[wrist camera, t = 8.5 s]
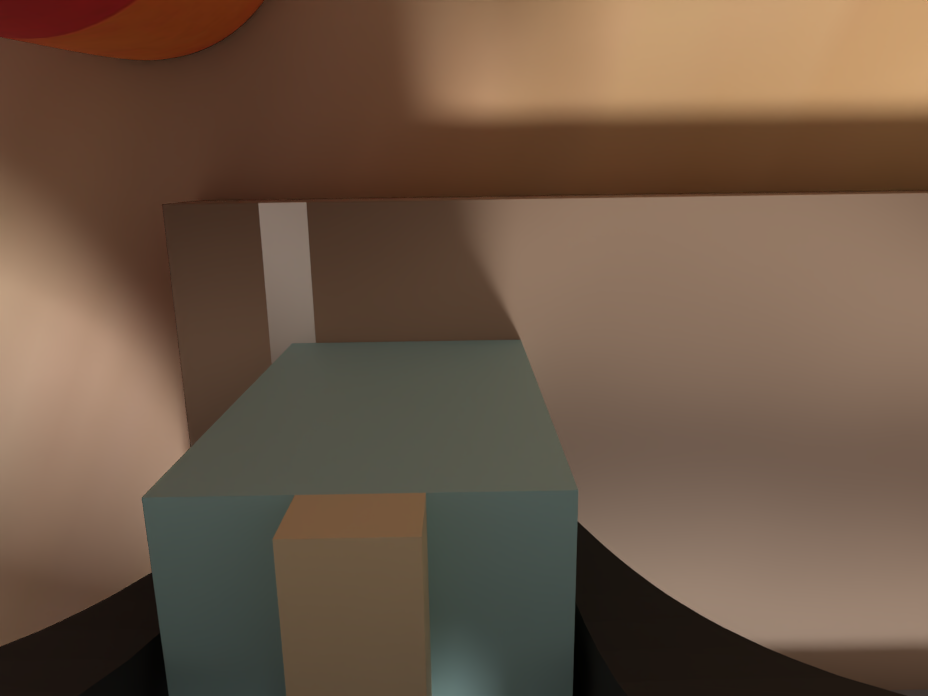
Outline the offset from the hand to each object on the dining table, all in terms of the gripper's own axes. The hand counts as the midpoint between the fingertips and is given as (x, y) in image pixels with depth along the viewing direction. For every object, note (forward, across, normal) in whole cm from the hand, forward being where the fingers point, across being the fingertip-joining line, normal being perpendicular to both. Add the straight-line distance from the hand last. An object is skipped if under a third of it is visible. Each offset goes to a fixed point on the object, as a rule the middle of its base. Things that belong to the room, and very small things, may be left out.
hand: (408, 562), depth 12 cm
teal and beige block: (+1, 0, 0) cm, 1 cm away
